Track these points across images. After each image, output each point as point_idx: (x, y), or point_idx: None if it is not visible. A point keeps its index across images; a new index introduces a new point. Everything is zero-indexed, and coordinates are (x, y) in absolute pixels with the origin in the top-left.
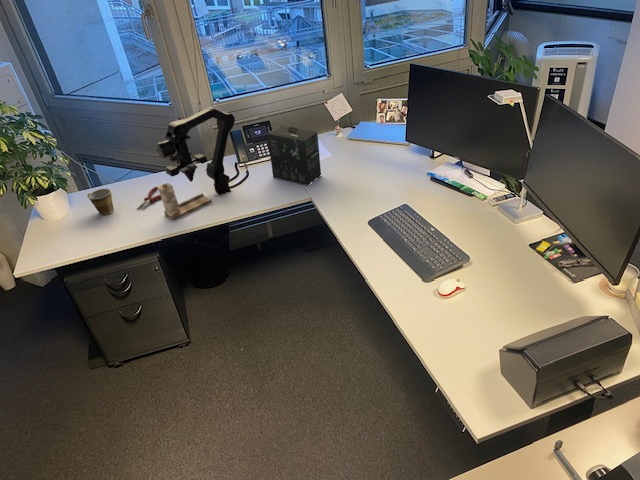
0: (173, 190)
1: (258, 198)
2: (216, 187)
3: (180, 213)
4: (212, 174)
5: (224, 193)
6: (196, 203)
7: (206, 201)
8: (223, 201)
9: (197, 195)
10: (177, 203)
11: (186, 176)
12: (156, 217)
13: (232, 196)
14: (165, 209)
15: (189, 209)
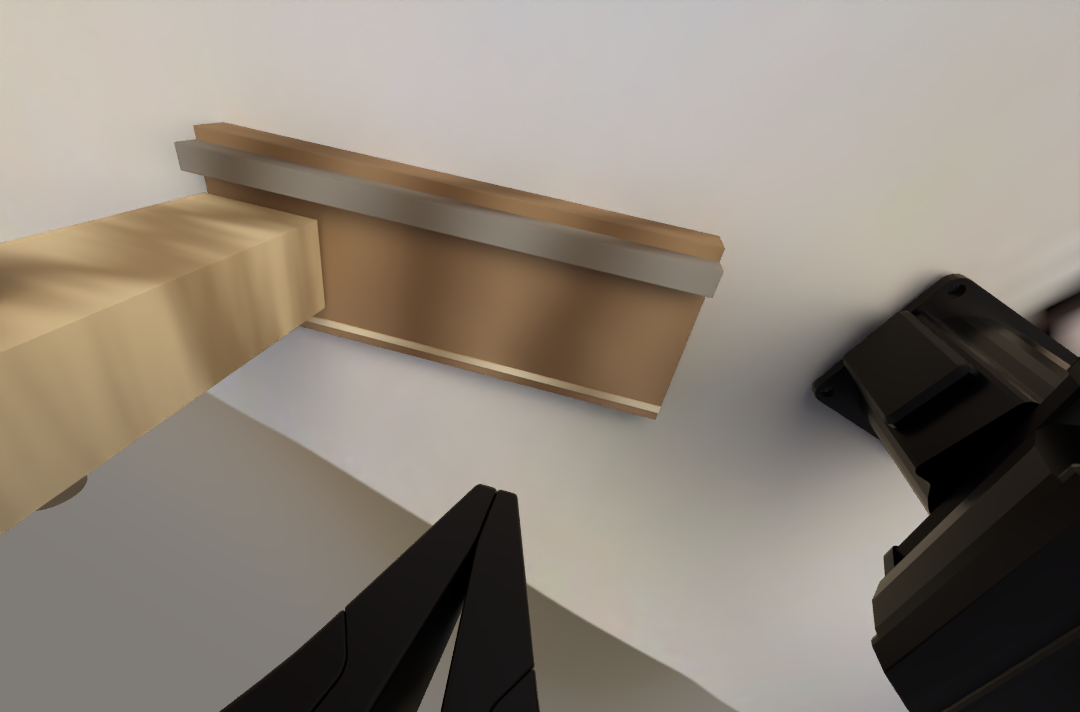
0: (35, 505)
1: (835, 658)
2: (880, 417)
3: (315, 320)
4: (943, 690)
5: (862, 425)
6: (524, 335)
7: (604, 402)
8: (709, 480)
9: (641, 260)
10: (243, 360)
11: (373, 581)
12: (133, 60)
13: (823, 504)
14: (152, 211)
15: (410, 347)
